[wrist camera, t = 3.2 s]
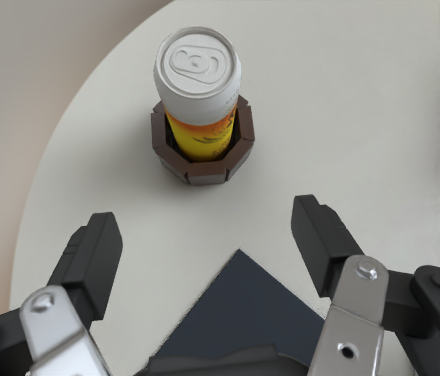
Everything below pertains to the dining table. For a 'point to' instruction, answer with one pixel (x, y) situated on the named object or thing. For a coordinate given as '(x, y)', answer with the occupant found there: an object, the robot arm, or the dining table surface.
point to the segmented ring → (206, 170)
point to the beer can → (199, 90)
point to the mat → (246, 316)
